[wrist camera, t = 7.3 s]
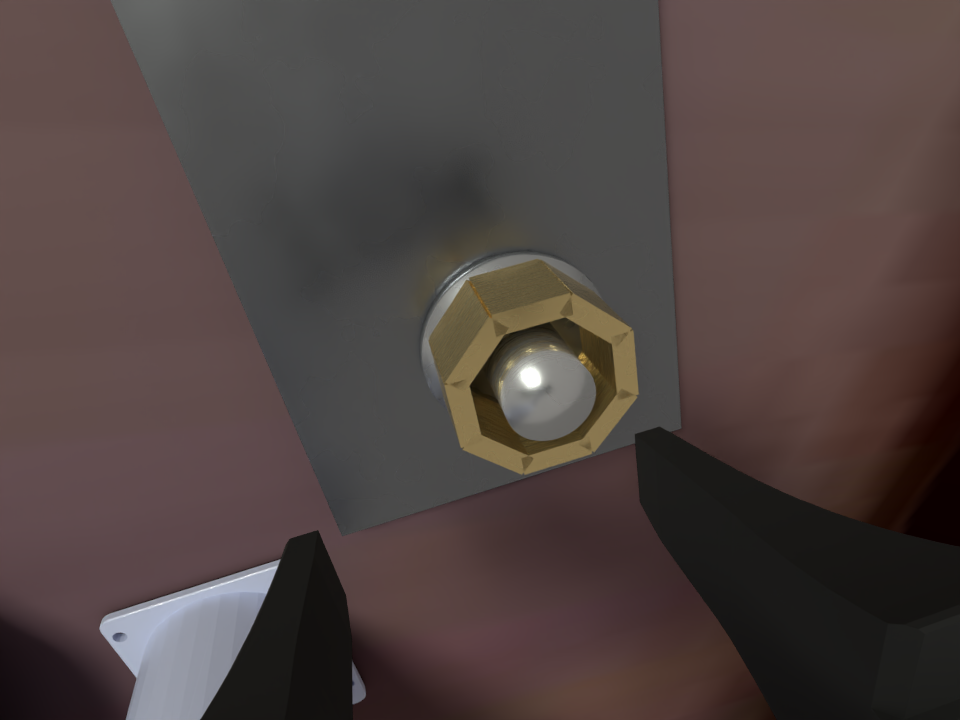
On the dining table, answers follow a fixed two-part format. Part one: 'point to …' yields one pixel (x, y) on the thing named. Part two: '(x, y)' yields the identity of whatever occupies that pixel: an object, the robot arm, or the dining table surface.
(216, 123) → the block
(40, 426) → the dining table surface
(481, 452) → the ring
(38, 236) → the dining table surface
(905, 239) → the dining table surface
